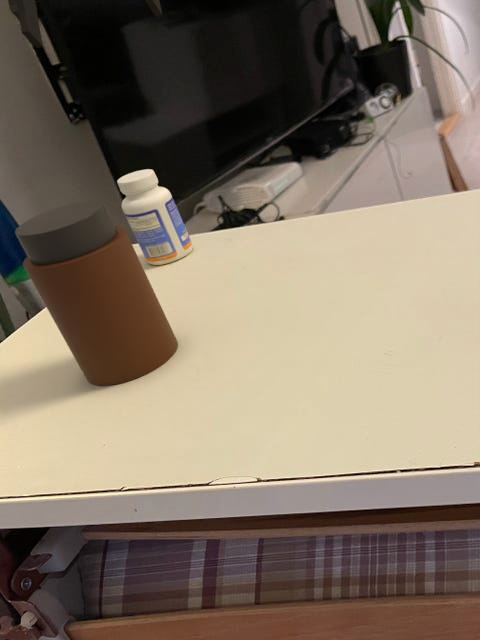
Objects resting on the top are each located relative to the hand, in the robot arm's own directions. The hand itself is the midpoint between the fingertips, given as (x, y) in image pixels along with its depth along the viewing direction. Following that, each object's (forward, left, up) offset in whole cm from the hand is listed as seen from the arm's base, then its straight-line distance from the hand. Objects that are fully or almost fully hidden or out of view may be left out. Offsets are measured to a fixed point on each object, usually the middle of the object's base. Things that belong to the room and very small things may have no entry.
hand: (93, 24), depth 85 cm
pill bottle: (+5, -8, -25) cm, 26 cm away
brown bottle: (+17, -30, -24) cm, 42 cm away
